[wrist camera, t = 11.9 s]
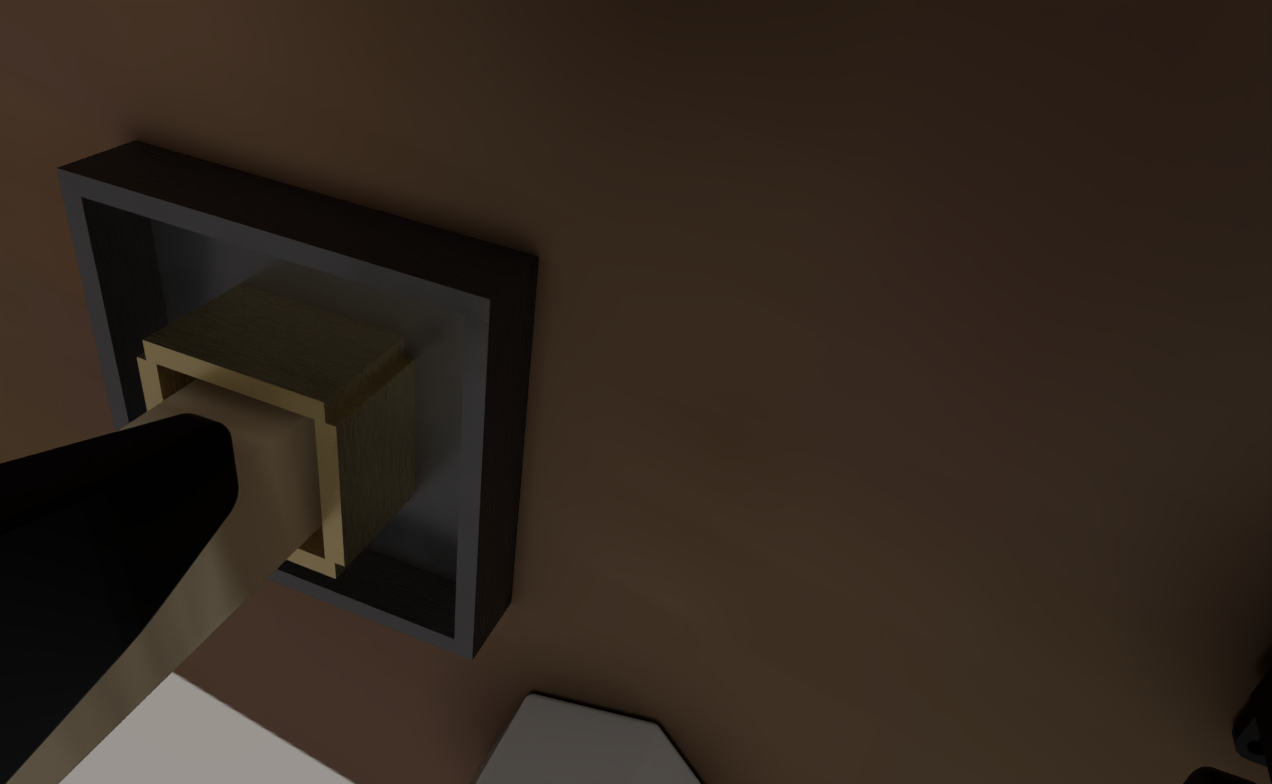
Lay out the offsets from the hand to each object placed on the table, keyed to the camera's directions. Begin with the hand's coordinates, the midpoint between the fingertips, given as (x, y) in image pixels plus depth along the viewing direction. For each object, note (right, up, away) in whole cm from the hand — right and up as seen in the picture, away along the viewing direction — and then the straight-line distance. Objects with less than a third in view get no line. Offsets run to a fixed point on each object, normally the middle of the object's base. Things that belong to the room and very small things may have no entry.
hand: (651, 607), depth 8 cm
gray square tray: (-9, +2, +19) cm, 21 cm away
